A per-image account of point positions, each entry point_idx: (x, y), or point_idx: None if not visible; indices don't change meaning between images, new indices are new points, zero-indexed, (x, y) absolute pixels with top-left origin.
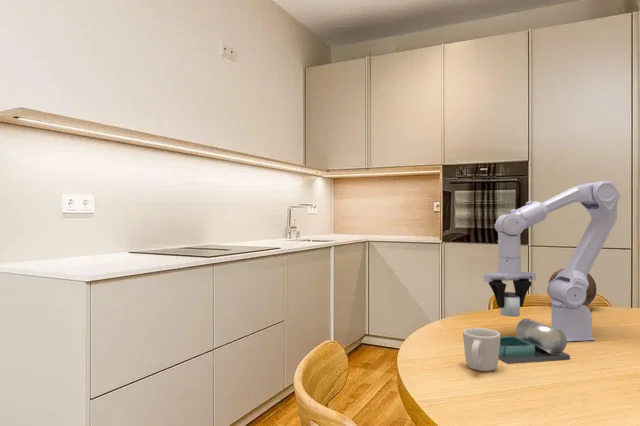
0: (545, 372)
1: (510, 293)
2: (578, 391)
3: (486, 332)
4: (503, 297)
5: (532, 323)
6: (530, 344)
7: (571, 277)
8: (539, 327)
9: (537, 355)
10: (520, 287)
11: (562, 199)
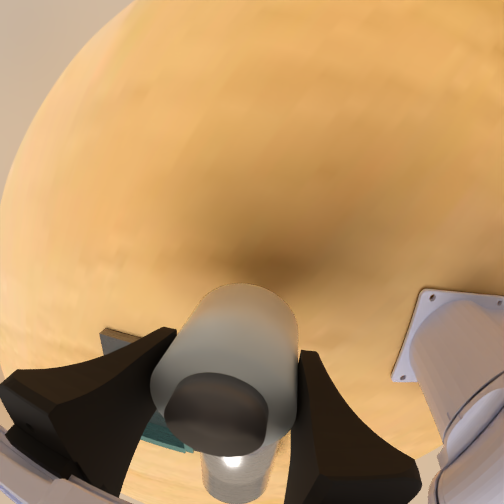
0: (173, 464)
1: (200, 442)
2: (178, 494)
3: None
4: (144, 418)
5: (215, 464)
6: (185, 447)
7: None
8: (212, 479)
9: None
10: (289, 494)
11: None
